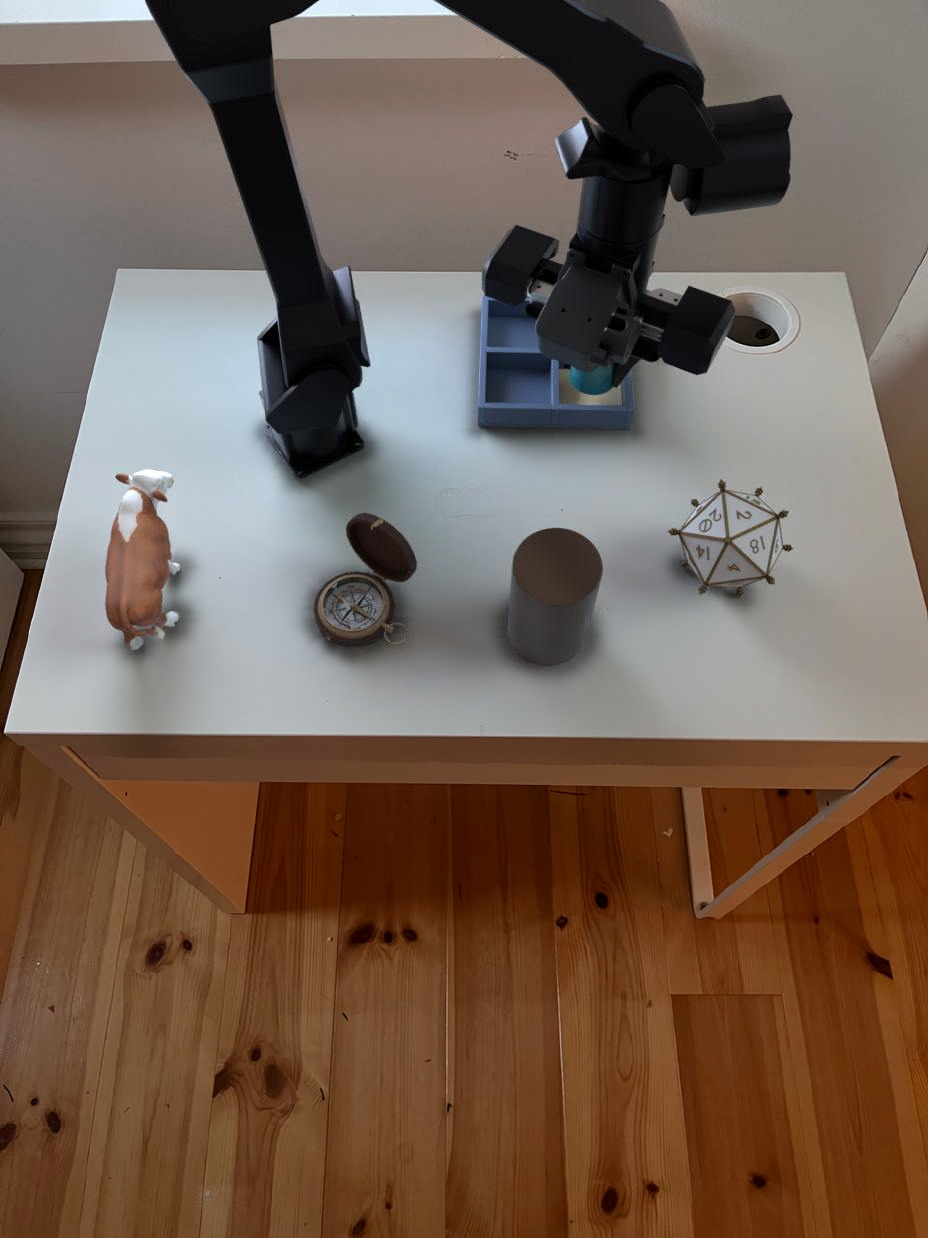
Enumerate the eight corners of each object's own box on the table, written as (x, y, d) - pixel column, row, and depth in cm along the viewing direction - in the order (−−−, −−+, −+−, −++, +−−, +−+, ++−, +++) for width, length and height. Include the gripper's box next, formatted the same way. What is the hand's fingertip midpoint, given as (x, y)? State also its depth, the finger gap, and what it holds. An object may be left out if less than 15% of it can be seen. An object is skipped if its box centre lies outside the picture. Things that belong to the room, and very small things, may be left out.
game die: (706, 611, 72) (695, 623, 63) (659, 517, 73) (641, 516, 64) (813, 561, 69) (818, 566, 60) (763, 464, 70) (760, 454, 61)
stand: (536, 679, 66) (545, 621, 57) (492, 618, 68) (495, 553, 60) (602, 640, 67) (621, 577, 59) (557, 581, 70) (568, 513, 61)
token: (587, 402, 74) (592, 368, 71) (559, 371, 76) (564, 336, 72) (625, 382, 75) (633, 348, 72) (598, 352, 77) (604, 317, 73)
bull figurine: (201, 514, 73) (171, 452, 66) (175, 665, 67) (139, 614, 59) (147, 514, 73) (111, 452, 66) (116, 665, 67) (73, 614, 59)
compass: (298, 622, 68) (279, 574, 62) (362, 549, 71) (350, 496, 65) (381, 677, 66) (371, 633, 60) (443, 599, 69) (440, 549, 63)
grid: (477, 426, 77) (478, 407, 75) (481, 315, 83) (482, 294, 80) (630, 429, 76) (634, 411, 74) (623, 317, 82) (627, 297, 80)
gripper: (444, 244, 60) (450, 400, 74) (705, 340, 56) (659, 486, 70) (518, 149, 65) (510, 313, 79) (764, 231, 61) (710, 389, 75)
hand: (592, 374), depth 75 cm, fingers closed on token, 4 cm apart
